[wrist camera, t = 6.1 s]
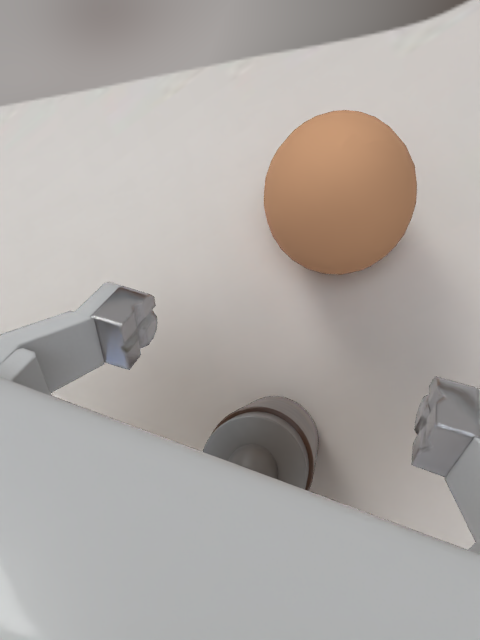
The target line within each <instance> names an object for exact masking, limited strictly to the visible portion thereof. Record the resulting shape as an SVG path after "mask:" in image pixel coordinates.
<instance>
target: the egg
mask: <svg viewBox="0 0 480 640" xmlns="http://www.w3.org/2000/svg"><path fill="white" fill-rule="evenodd" d="M416 192H417V182H416V174H415V166H414V163H413V161H412V159H411V156H410V154H409V152H408V150H407V147H406V145H405V144H404V143H403V142H402V140H401V139H400V138H399V137H398V136H397V134H396V133H395V132H394V131H393V130H392V129H391V128H390V127H389V126H388V125H386V124H385V123H383V122H382V121H380V120H379V119H377V118H376V117H374V116H371V115H368V114H365V113H362V112H359V111H349V110H342V111H332V112H328V113H325V114H322V115H318V116H315V117H313V118H312V119H310V120H308V121H306V122H304V123H303V124H302V125H300V126H299V127H298V128H296V129H295V130H294V131H293V132H292V133H291V134H290V135H289V137H288V138H287V139H286V140H285V141H284V143H283V144H282V145H281V146H280V147H279V149H278V150H277V152H276V153H275V155H274V157H273V159H272V161H271V163H270V166H269V169H268V172H267V175H266V179H265V189H264V208H265V213H266V218H267V222H268V225H269V228H270V230H271V233H272V235H273V237H274V239H275V240H276V242H277V243H278V245H279V246H280V248H281V249H282V250H283V251H284V252H285V253H286V254H287V255H288V256H289V257H290V258H291V259H292V260H294V261H295V262H297V263H298V264H300V265H302V266H303V267H305V268H307V269H310V270H313V271H316V272H320V273H323V274H338V275H342V274H347V273H351V272H356V271H360V270H363V269H365V268H368V267H370V266H371V265H373V264H374V263H376V262H377V261H379V260H380V259H382V258H383V257H385V256H386V255H387V254H388V253H389V252H390V251H391V250H392V249H393V248H394V247H395V246H396V245H397V243H398V242H399V241H400V239H401V238H402V236H403V235H404V233H405V231H406V229H407V227H408V225H409V223H410V220H411V218H412V215H413V211H414V208H415V204H416Z"/></svg>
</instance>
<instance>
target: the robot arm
mask: <svg viewBox="0 0 480 640" xmlns="http://www.w3.org/2000/svg"><path fill="white" fill-rule="evenodd" d="M155 306H156V305H155V298H154V296H152V295H150V294H147V293H144V292H141V291H138V290H135V289H131V288H128V287H125V286H121V285H118V284H115V283H111V282H107V283H104V284H103V285H102V286H101V287H100V288H99V289H98V290H97V291H96V292H95V293H94V294H93V295H92V296H91V297H90V298H89V299H87V300H86V301H85V302H84V303H83V304H82V305H81V306H80V307H79V308H78V309H77V310H76V311H75V312H72V311H69V312H66V313H63V314H60V315H57V316H54V317H51V318H48V319H45V320H42V321H39V322H36V323H33V324H30V325H27V326H24V327H21V328H18V329H15V330H12V331H9V332H6V333H3V334H0V640H480V388H475V387H473V386H469V385H465V384H462V383H458V382H455V381H451V380H447V379H444V378H440V377H437V376H435V378H434V379H433V380H432V382H431V384H430V386H429V395H426V396H424V397H423V399H422V401H421V403H420V406H419V409H418V412H417V415H416V421H415V429H414V430H415V432H416V433H417V435H418V436H417V437H416V439H415V441H414V443H413V451H412V463H411V465H413V466H416V467H418V468H421V469H424V470H427V471H429V472H432V473H435V474H438V475H440V476H443V477H445V481H446V483H447V485H448V487H449V489H450V491H451V493H452V495H453V497H454V499H455V501H456V503H457V505H458V507H459V509H460V511H461V513H462V515H463V517H464V519H465V521H466V523H467V526H468V528H469V530H470V532H471V534H472V536H473V538H474V540H475V542H476V543H475V544H474V545H473V546H472V547H471V548H470V549H468V550H467V549H464V548H461V547H459V546H456V545H453V544H450V543H448V542H445V541H442V540H440V539H437V538H434V537H432V536H429V535H426V534H423V533H421V532H418V531H415V530H413V529H410V528H407V527H405V526H402V525H399V524H396V523H394V522H391V521H388V520H386V519H383V518H380V517H378V516H375V515H372V514H369V513H367V512H364V511H361V510H359V509H356V508H353V507H351V506H348V505H345V504H342V503H340V502H337V501H334V500H332V499H329V498H326V497H323V496H321V495H318V494H315V493H313V492H310V491H307V490H304V489H302V488H299V487H296V486H294V485H291V484H288V483H285V482H283V481H280V480H277V479H275V478H272V477H269V476H266V475H264V474H261V473H258V472H256V471H253V470H250V469H248V468H245V467H242V466H239V465H237V464H234V463H231V462H229V461H226V460H223V459H221V458H218V457H215V456H213V455H210V454H207V453H204V452H202V451H199V450H196V449H194V448H191V447H188V446H186V445H183V444H180V443H178V442H175V441H172V440H169V439H167V438H164V437H161V436H159V435H156V434H153V433H151V432H148V431H145V430H143V429H140V428H137V427H134V426H132V425H129V424H126V423H124V422H121V421H118V420H115V419H113V418H110V417H107V416H105V415H102V414H99V413H97V412H94V411H91V410H88V409H86V408H83V407H80V406H78V405H75V404H72V403H70V402H67V401H64V400H61V399H59V398H56V397H53V396H52V395H51V393H52V392H54V391H55V390H57V389H59V388H61V387H63V386H65V385H66V384H68V383H70V382H72V381H74V380H76V379H78V378H79V377H81V376H83V375H85V374H87V373H89V372H90V371H92V370H94V369H96V368H98V367H100V366H102V365H103V364H105V363H108V364H112V365H115V366H118V367H121V368H125V369H128V370H130V368H131V367H132V366H133V365H134V363H135V362H136V361H137V359H138V358H139V357H140V355H141V352H140V348H143V347H145V346H147V345H149V344H150V342H151V341H152V339H153V338H154V335H155V333H156V330H157V316H156V315H155V313H154V312H153V311H152V309H153V308H154V307H155ZM104 362H105V363H104Z"/></svg>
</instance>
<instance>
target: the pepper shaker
mask: <svg viewBox="0 0 480 640" xmlns="http://www.w3.org/2000/svg"><path fill="white" fill-rule="evenodd" d="M317 451H318V433H317V429H316V426H315V423H314V421H313V419H312V418H311V416H310V415H309V413H308V412H307V411H306V410H305V409H304V408H303V407H302V406H301V405H299V404H298V403H296V402H294V401H293V400H290V399H288V398H284V397H279V396H269V397H264V398H261V399H258V400H256V401H254V402H252V403H250V404H248V405H246V406H244V407H242V408H240V409H238V410H236V411H235V412H233V413H231V414H229V415H228V416H227V417H225V418H224V419H223V420H222V421H221V422H220V423H219V424H218V425H217V426H216V428H215V429H214V431H213V433H212V434H211V436H210V437H209V439H208V440H207V442H206V444H205V446H204V449H203V452H204V453H207V454H210V455H213V456H215V457H218V458H221V459H223V460H226V461H229V462H231V463H234V464H237V465H239V466H242V467H245V468H248V469H250V470H253V471H256V472H258V473H261V474H264V475H266V476H269V477H272V478H275V479H277V480H280V481H283V482H285V483H288V484H291V485H294V486H296V487H299V488H302V489H304V490H307V491H308V490H309V488H310V485H311V483H312V479H313V474H314V468H315V462H316V457H317Z"/></svg>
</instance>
